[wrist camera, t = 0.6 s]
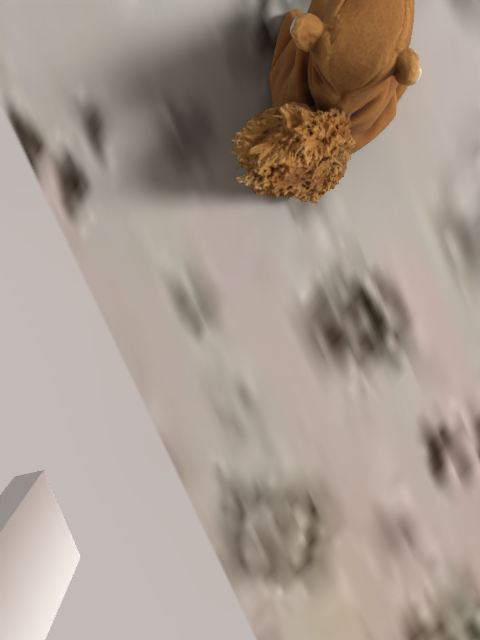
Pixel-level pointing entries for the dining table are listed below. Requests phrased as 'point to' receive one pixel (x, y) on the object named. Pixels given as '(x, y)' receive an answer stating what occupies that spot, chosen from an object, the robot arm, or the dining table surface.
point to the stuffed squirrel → (327, 94)
